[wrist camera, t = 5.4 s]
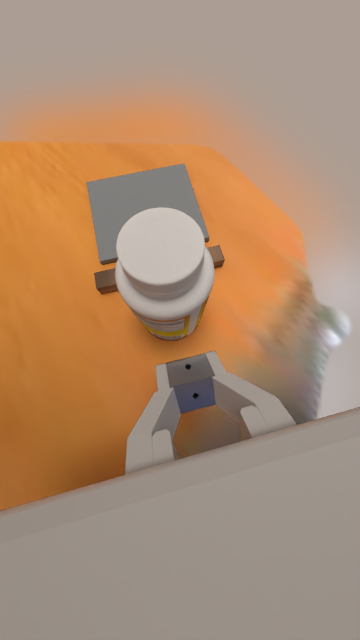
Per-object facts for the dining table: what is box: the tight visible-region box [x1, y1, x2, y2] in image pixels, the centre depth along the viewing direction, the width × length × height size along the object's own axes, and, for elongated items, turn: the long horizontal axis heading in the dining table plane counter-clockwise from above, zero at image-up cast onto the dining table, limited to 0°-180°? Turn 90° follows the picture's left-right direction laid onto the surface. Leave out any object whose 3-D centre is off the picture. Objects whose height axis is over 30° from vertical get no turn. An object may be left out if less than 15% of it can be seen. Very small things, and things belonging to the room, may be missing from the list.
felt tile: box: [87, 164, 209, 264], centre depth 21 cm, size 11×10×1 cm
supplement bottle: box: [115, 207, 214, 340], centre depth 14 cm, size 6×6×10 cm
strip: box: [94, 245, 225, 294], centre depth 19 cm, size 12×2×1 cm, turn 104°
